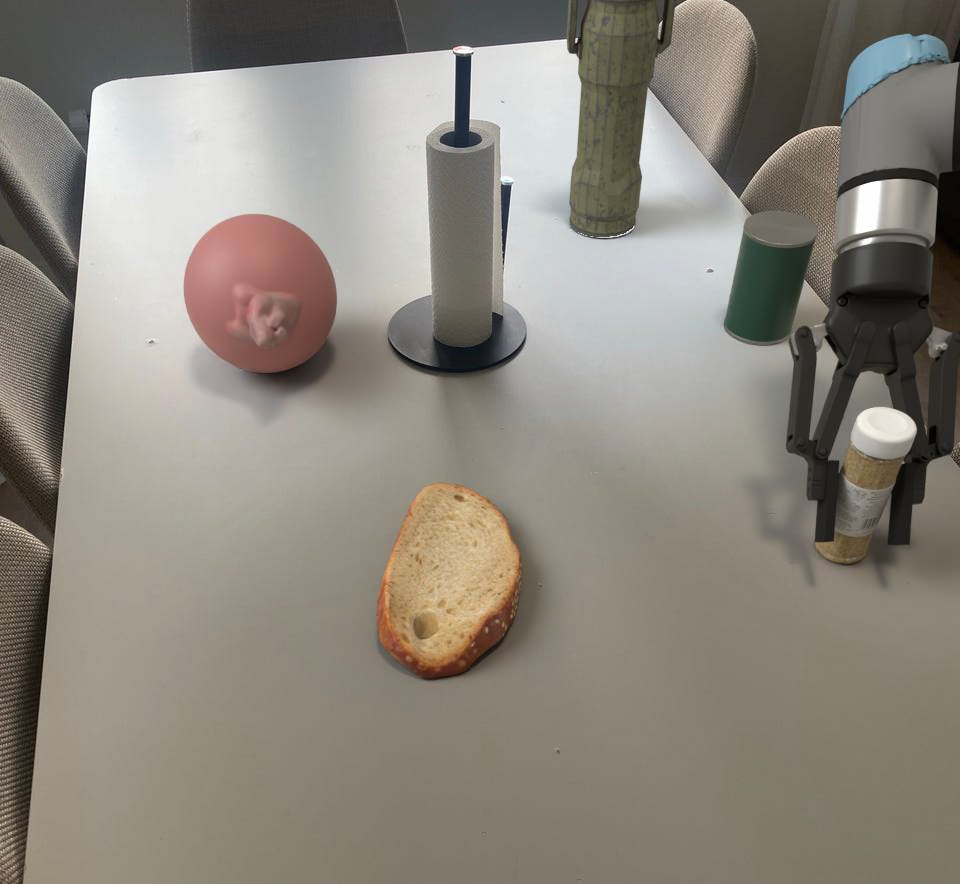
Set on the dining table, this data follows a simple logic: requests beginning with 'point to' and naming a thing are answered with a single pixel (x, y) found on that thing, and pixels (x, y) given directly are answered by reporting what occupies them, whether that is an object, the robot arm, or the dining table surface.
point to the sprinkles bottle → (867, 480)
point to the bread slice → (448, 582)
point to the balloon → (260, 293)
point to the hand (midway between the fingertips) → (861, 542)
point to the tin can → (769, 276)
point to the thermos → (612, 108)
